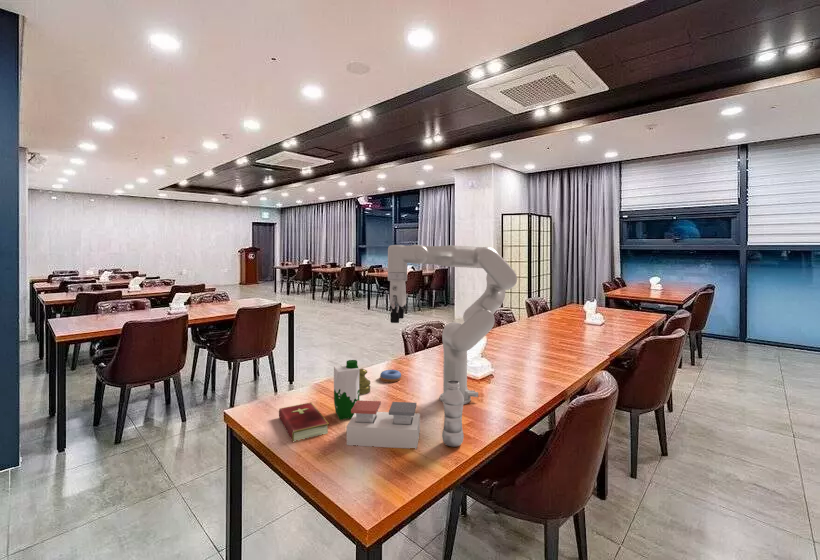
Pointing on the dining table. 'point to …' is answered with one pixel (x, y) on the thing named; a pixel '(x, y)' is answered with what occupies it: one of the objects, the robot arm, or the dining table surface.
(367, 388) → the gold rounded piece
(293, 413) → the hardcover book
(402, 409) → the grey square push button
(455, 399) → the plastic bottle
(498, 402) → the dining table surface
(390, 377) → the doughnut
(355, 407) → the red square push button
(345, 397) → the milk carton
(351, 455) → the dining table surface
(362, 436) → the white button box
